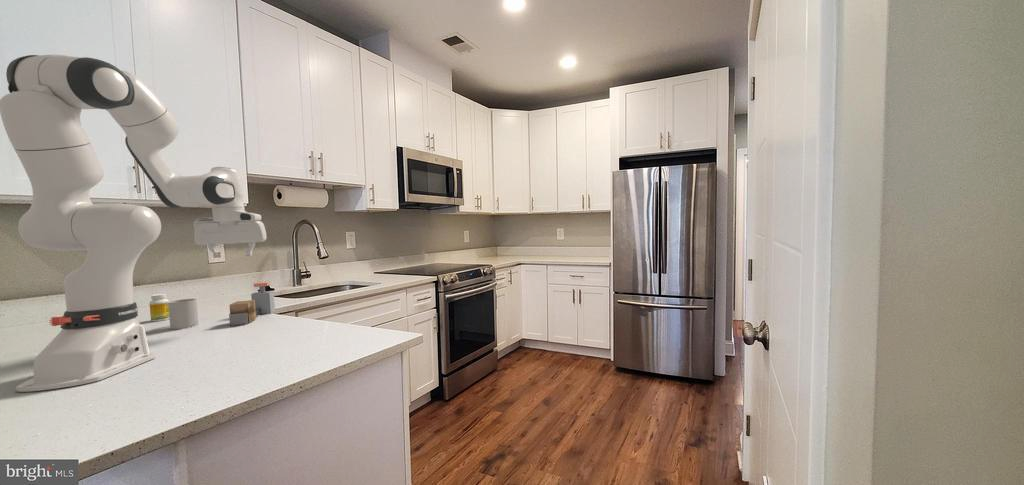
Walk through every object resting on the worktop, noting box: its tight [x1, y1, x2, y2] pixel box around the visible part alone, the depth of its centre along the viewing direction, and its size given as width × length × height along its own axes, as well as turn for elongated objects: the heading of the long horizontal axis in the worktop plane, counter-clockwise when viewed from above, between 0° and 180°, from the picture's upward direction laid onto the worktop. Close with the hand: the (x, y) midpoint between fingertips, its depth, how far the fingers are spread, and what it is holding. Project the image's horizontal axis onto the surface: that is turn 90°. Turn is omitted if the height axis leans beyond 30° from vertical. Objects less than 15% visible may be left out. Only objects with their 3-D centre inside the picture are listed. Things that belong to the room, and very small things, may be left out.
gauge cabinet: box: [250, 290, 276, 315], centre depth 144 cm, size 4×6×8 cm
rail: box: [228, 308, 262, 327], centre depth 133 cm, size 16×5×4 cm, turn 16°
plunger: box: [253, 281, 271, 293], centre depth 143 cm, size 3×4×5 cm
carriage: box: [229, 299, 257, 324], centre depth 130 cm, size 6×5×7 cm
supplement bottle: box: [149, 293, 170, 323], centre depth 139 cm, size 5×5×10 cm
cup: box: [168, 298, 199, 330], centre depth 128 cm, size 7×10×9 cm
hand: (233, 256), depth 128 cm, fingers open, 8 cm apart
